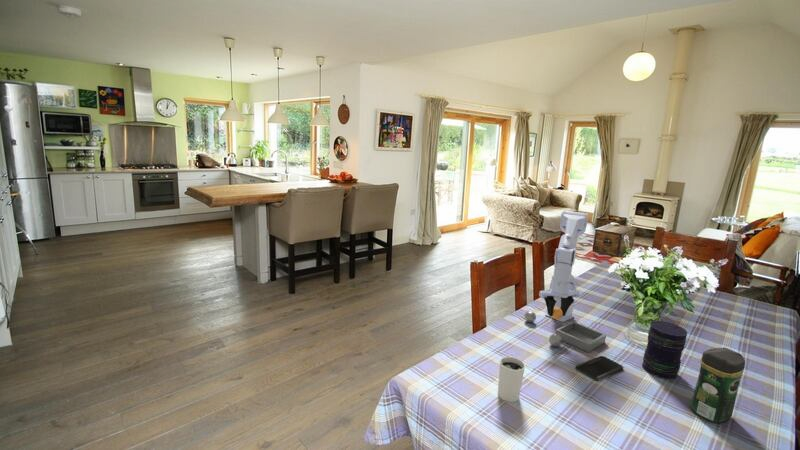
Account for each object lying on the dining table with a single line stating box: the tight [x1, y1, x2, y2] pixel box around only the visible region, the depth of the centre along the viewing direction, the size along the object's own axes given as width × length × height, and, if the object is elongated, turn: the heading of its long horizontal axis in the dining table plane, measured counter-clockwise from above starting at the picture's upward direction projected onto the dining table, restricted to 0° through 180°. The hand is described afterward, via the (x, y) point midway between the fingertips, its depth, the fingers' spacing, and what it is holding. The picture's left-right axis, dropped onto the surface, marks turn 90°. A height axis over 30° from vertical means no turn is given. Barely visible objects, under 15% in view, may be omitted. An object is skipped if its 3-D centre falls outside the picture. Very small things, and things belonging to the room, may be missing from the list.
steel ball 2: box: [548, 333, 563, 348], centre depth 137 cm, size 4×4×4 cm
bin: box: [554, 320, 607, 354], centre depth 143 cm, size 13×13×3 cm
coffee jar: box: [689, 346, 746, 424], centre depth 105 cm, size 10×8×19 cm
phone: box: [575, 355, 624, 382], centre depth 125 cm, size 8×1×15 cm
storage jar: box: [641, 320, 688, 380], centre depth 124 cm, size 10×10×15 cm
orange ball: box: [550, 307, 563, 320], centre depth 143 cm, size 4×4×4 cm
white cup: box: [497, 356, 526, 403], centre depth 108 cm, size 7×7×10 cm
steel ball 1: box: [523, 310, 537, 324], centre depth 155 cm, size 4×4×4 cm
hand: (556, 315), depth 143 cm, fingers closed on orange ball, 4 cm apart
